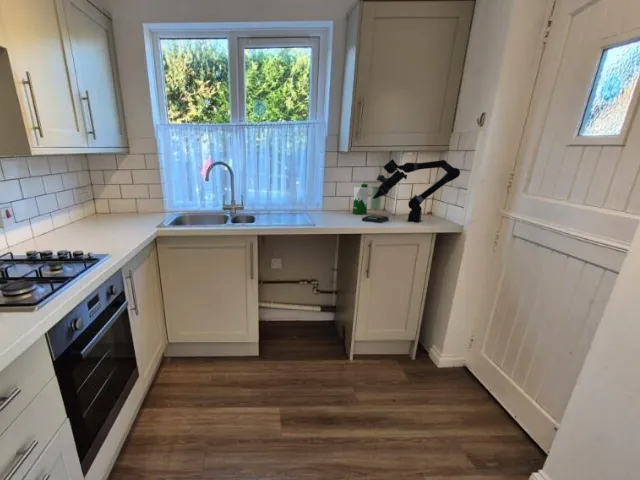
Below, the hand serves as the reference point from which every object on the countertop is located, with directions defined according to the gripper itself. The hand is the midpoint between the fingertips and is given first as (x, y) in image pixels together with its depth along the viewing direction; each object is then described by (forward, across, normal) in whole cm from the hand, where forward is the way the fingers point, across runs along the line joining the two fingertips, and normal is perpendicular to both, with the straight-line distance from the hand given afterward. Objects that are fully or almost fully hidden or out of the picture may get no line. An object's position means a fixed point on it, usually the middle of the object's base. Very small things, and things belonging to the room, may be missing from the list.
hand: (373, 197), depth 227 cm
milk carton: (+17, -22, +3) cm, 28 cm away
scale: (+8, +4, +11) cm, 14 cm away
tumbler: (+4, 0, +6) cm, 7 cm away
